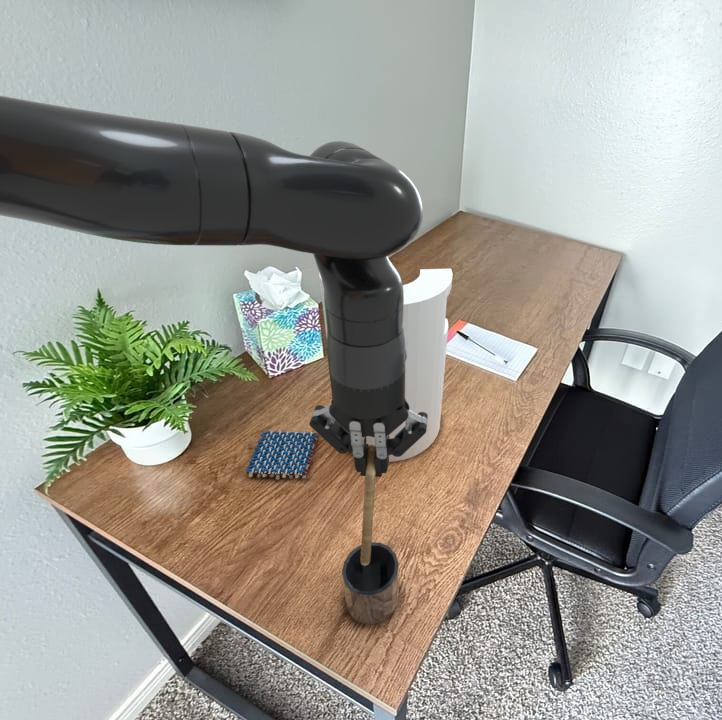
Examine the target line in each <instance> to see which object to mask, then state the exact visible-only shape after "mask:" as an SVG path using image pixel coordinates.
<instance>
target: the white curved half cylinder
mask: <svg viewBox="0 0 722 720" xmlns="http://www.w3.org/2000/svg"><path fill="white" fill-rule="evenodd" d="M453 275H454V274H453V270H452V268H423V269H422V268H421V269H419V275H418V277H417V278H416V279H415V280H413V281H411V282H409V283H405V284H403V291H404V303H403V328H404V336H405V343H406V354H407V359H406V361H405V400H406V401H407V403H408V404H409V410H410V411H412V412H414V413H416V414H418V413H420V412H425V413H427V415H428V419H427V430H426V433H425V434H424V435H423V436H422V437H421V438H420V439H419V440H418V441H417V442H416V443H415V444H413V445H412V446H411V447H410V448H409V449H408V450H407V451H406V452H405V453H404V454H403V455H402V456H400V457H395V456H393V455H389V463H390V462H391V463H393V462H399V461H405V460H407V459H410V458H413V457H415V456H417V455H419V454H421V453H423V452H424V451H425V450H426V449H428V448H429V447H431V445H432V444H433V443H434V442H435V440H436V438H437V437H438V434H439V432H440V429H441V417H442V405H443V395H444V382H445V372H446V371H445V370H446V357H447V345H448V334H449V320H448V318H446V316H447V305H448V304H447V303H448V297H449V295H450V293H451V290H452V285H453ZM318 276H319V277H318V278H319V285H320V295H321V302H322V310H323V319H324V320H323V321H324V328H325V337H326V339H327V322H326V312H325V303H324V288H323V282H322V279H321V276H320V273H319V272H318ZM405 425H406V421H404V422H403V423H402V424H401V425H400V426H399V427H398V428H396V429H395V430H394V431H393V432H392V433H391V434H390V439H391V438H395V436H396V435H397V434H398V433H399V432H400V431H401V430H402V429H403V428H404V427H405ZM338 437H339V436H338ZM339 438H340V437H339ZM366 444H369V445H371V444H374V445H375V437H371V436H367V442H366Z"/></svg>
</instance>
